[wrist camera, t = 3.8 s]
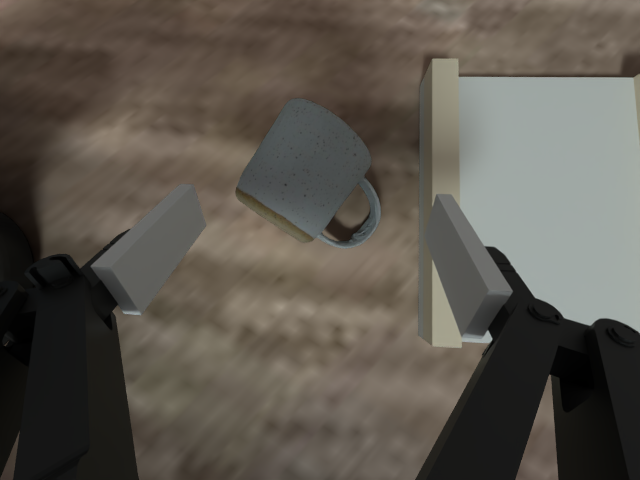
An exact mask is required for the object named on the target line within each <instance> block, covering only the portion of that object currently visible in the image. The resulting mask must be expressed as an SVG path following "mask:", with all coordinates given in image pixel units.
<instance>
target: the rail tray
mask: <svg viewBox="0 0 640 480" xmlns="http://www.w3.org/2000/svg"><path fill="white" fill-rule="evenodd" d="M436 194H452V196H453V197H454V199H455V201H456V202H457V204H458V205H459V207H460V209H461V210H462V212H463V213H464V215H465V216H466V218H467V220H468V221H469V223H470V224H471V226H472V227H473V229H474V231H475V232H476V234H477V235H478V237H479V238H480V240H481V242H482V243H483V245H484V246H491V247H496V248H497V249H498V250H499V251H501V252H502V253H503V254H505V256H506V257H507V259H508V260H509V261H510V263H511V265H512V266H513V267H514V269H515V270H516V273H518V274H519V276H520V277H521V279H522V280H523V281H524V283H525V284H526V286H527V287H528V288H529V290H530V291H531V293H532V294H533V296H534V297H535V298H537V299H540V300H542V301H545V302H547V303H549V304H550V305H552V306H554V307H555V308H556V309H557V310H558V311H559V312H560V313H561V314H562V316H563V317H564V318H565V319H569V320H572V321H575V322H579V323H582V324H586V325H589V326H591V325H592V324H593V323H594V322H595V321H596V320H598V319H600V318H608V319H613V320H617V321H619V322H621V323H624V324H626V325H628V326H630V327H631V328H633V329H635V330H636V331H638V332H639V333H640V74H638V75H637V76H635V77H634V78H611V77H458V59H432V61H431V63H430V65H429V67H428V69H427V72H426V74H425V76H424V78H423V80H422V82H421V85H420V140H419V319H418V336H420V337H421V338H422V339H424V340H425V341H426V342H428V343H429V344H430V345H432V346H438V347H454V348H462V342H478V343H490V342H491V341H492V337H491V335H490V333H489V331H487V332H486V334H485V335H484V337H483V338H482V339H473V338H462V337H461V334H460V332H459V329H458V326H457V324H456V321H455V318H454V316H453V313H452V310H451V307H450V305H449V302H448V299H447V297H446V294H445V291H444V289H443V286H442V283H441V281H440V278H439V275H438V272H437V270H436V267H435V264H434V262H433V259H432V256H431V254H430V251H429V248H428V246H427V243H426V240H425V237H424V234H425V231H426V227H427V224H428V221H429V217H430V214H431V211H432V207H433V204H434V201H435V197H436Z"/></svg>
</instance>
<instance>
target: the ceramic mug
mask: <svg viewBox="0 0 640 480" xmlns="http://www.w3.org/2000/svg"><path fill="white" fill-rule="evenodd" d="M370 166H371V156H370V153H369V151H368V149H367V147H366V145H365V144H364V142H363V141H362V140H361V138H360V137H359V136H358V135H357V134H356V133H355V132H354V131H353V130H352V129H351V128H350V127H349V126H348V125H347V124H346V123H345V122H344V121H343V120H342V119H340V118H339V117H337V116H336V115H335V114H333V113H332V112H331V111H329V110H328V109H326V108H324V107H322V106H320V105H318V104H316V103H314V102H312V101H309V100H306V99H301V98H295V99H291V100H289V101H288V102H287V103H286V104H285V106H284V107H283V109H282V111H281V112H280V114H279V116H278V117H277V119H276V121H275V122H274V124H273V125H272V127H271V129H270V130H269V132H268V133H267V135H266V137H265V138H264V140H263V141H262V143H261V145H260V146H259V148H258V149H257V151H256V153H255V154H254V156H253V157H252V159H251V160H250V162H249V163H248V165H247V166H246V168H245V170H244V171H243V173H242V175H241V177H240V180H239V182H238V185H237V187H236V197H237V199H238V200H239V201H240V202H242V203H243V204H245V205H246V206H247V207H249V208H250V209H252V210H253V211H255V212H256V213H257V214H259V215H260V216H262V217H263V218H265V219H267V220H268V221H270V222H271V223H273V224H274V225H276V226H277V227H279V228H280V229H282V230H283V231H285V232H286V233H288V234H289V235H291V236H293V237H294V238H296V239H297V240H299V241H300V242H303V243H306V242H310V241H313V240H314V239H315V238H319V239H320V240H322V241H323V242H325V243H327V244H329V245H332V246H335V247H338V248H352V247H355V246H358V245H360V244H362V243H363V242H365V241H366V240H367V239H368V238H369V237H370V236H371V235H372V234H373V232H374V231H375V230H376V228H377V226H378V224H379V221H380V217H381V208H380V202H379V198H378V196H377V194H376V192H375V190H374V188H373V187H372V185H371V184H370V182H369V181H368V180H367V179H366V178H365V176H364V175H365V173H366V172H367V170H368V169H369V167H370ZM357 184H359V185H360V186H361V187H362V189H363V190H364V192H365V194H366V196H367V198H368V200H369V203H370V215H369V218H368V219H367V221H366V222H365V223H364V224H363V226H362V227H361V228H360V229H359V230H358V231H357V232H356V233H354V234H352V236H351V239H350V240H348V241H334V240H331V239H329V238H327V237H326V236H324V235H323V234H322V231H323V230H324V229H325V227H326V226H327V225H328V223H329V222H330V220H331V219H332V218H333V216H334V215H335V213H336V212H337V210H338V209H339V207H340V206H341V205H342V203H343V202H344V201H345V200H346V198H347V197H348V196H349V195H350V193H351V192H352V191H353V189H354V188H355V186H356V185H357Z"/></svg>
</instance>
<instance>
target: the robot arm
mask: <svg viewBox="0 0 640 480" xmlns="http://www.w3.org/2000/svg"><path fill="white" fill-rule="evenodd" d="M205 227H206V223H205V219H204V216H203V213H202V210H201V207H200V204H199V200H198V197H197V194H196V191H195V188H194V184H180V185H178V186H177V187H176V188H175V189H174V190H173V191H172V192H171V193H170V194H169V195H168V196H166V197H165V198H164V199H163V200H162V201H161V202H160V203H159V204H158V205H157V206H155V207H154V208H153V209H152V210H151V211H150V212H149V213H148V214H147V215H146V216H145V217H143V218H142V219H141V220H140V221H139V222H138V223H137V224H136V225H135V226H134V227H133V228H131V229H128V230H127V231H125V232H123V233H121V234H119V235H118V236H116V237H115V238H114V239H113V240H112V241H111V242H110V244H107V245H106V246H105V247H104V248H103V250H101V251H100V252H99V253H97V254H96V255H95V256H94V257H93V258H92V259H91V260H90V261H88V262H87V263H86V264H85V265H84V266H83V267H82V268H81V269H80V268H79V267H78V266H77V264H76V263H75V262H74V260H73V259H72V258H71V256H70V255H67V254H57V255H52V256H49V257H46V258H43V259H41V260H39V261H37V262H35V263H34V264H33V258H32V254H31V250H30V247H29V245H28V242H27V240H26V238H25V236H24V234H23V233H22V231H21V230H20V229H19V227H18V226H17V225H16V224H15V223H14V222H13V221H12V220H11V219H10V218H9V217H7V216H6V215H4V214H3V213H1V212H0V477H1V475H2V472H3V470H4V468H5V465H6V463H7V460H8V458H9V455H10V453H11V450H12V448H13V445H14V443H15V441H16V438H17V436H18V433H19V431H20V434H19V441H18V449H17V456H16V463H15V470H14V478H13V480H139V477H138V472H137V465H136V458H135V451H134V444H133V436H132V429H131V422H130V415H129V408H128V401H127V394H126V387H125V380H124V373H123V366H122V358H121V351H120V344H119V337H118V330H117V323H116V317H115V315H114V313H113V312H112V311H113V310H114V308H115V307H116V306H117V305H118V306H119V307H120V308H121V310H122V311H123V313H124V314H136V315H142V313H143V312H144V311H145V309H146V308H147V307H148V305H149V304H150V302H151V301H152V300H153V298H154V297H155V296H156V294H157V293H158V291H159V290H160V289H161V287H162V286H163V285H164V283H165V282H166V280H167V279H168V278H169V276H170V275H171V273H172V272H173V271H174V269H175V268H176V267H177V265H178V264H179V262H180V261H181V260H182V258H183V257H184V256H185V254H186V253H187V251H188V250H189V249H190V247H191V246H192V245H193V243H194V242H195V240H196V239H197V238H198V236H199V235H200V234H201V232H202V231H203V229H204V228H205ZM424 237H425V240H426V243H427V246H428V248H429V251H430V254H431V256H432V259H433V262H434V264H435V267H436V270H437V272H438V275H439V278H440V281H441V283H442V286H443V289H444V291H445V294H446V297H447V299H448V302H449V305H450V307H451V310H452V313H453V316H454V318H455V321H456V324H457V326H458V329H459V332H460V334H461V337H462V338H473V339H482V338H483V337H484V335H485V334H486V332H487V331H489V333H490V335H491V337H492V341H491V342H490V344H489V345H488V347H487V348H486V349H485V351H484V352H483V354H482V355H483V356H482V358H481V360H480V362H479V364H478V366H477V367H476V369H475V371H474V373H473V375H472V377H471V378H470V380H469V382H468V384H467V386H466V388H465V389H464V391H463V393H462V395H461V397H460V399H459V400H458V402H457V404H456V406H455V408H454V410H453V411H452V413H451V415H450V417H449V419H448V421H447V422H446V424H445V426H444V428H443V430H442V432H441V433H440V435H439V437H438V439H437V441H436V443H435V444H434V446H433V448H432V450H431V452H430V454H429V455H428V457H427V459H426V461H425V463H424V465H423V466H422V468H421V470H420V472H419V474H418V476H417V477H416V479H415V480H515V478H516V475H517V472H518V469H519V466H520V463H521V460H522V457H523V454H524V450H525V447H526V444H527V441H528V438H529V435H530V432H531V429H532V426H533V423H534V419H535V416H536V413H537V410H538V407H539V404H540V401H541V398H542V395H543V392H544V389H545V385H546V382H547V379H548V376H549V374H550V375H551V381H552V395H553V409H554V423H555V437H556V450H557V464H558V478H559V480H640V333H639V332H638V331H636V330H635V329H633V328H631V327H630V326H628V325H626V324H624V323H621V322H619V321H617V320H613V319H608V318H600V319H598V320H596V321H595V322H594V323H593V324H592V325H591V326H589V325H586V324H582V323H579V322H575V321H572V320H569V319H565V318H564V317H563V316H562V314H561V313H560V312H559V311H558V310H557V309H556V308H555V307H554V306H552V305H550V304H549V303H547V302H545V301H542V300H540V299H537V298H535V297H534V296H533V294H532V293H531V291H530V290H529V288H528V287H527V286H526V284H525V283H524V281H523V280H522V279H521V277H520V276H519V274H518V273H516V270H515V269H514V267H513V266H512V265H511V263H510V261H509V260H508V259H507V257H506V256H505V254H503V253H502V252H501V251H499V250H498V249H497V248H496V247H491V246H484V245H483V243H482V242H481V240H480V238H479V237H478V235H477V234H476V232H475V231H474V229H473V227H472V226H471V224H470V223H469V221H468V220H467V218H466V216H465V215H464V213H463V212H462V210H461V209H460V207H459V205H458V204H457V202H456V201H455V199H454V197H453V196H452V194H436V197H435V201H434V204H433V207H432V211H431V214H430V217H429V221H428V224H427V227H426V231H425V234H424ZM33 284H34V285H35V286H36V287H35V288H33ZM8 340H9V342H8V344H7V345H6V346H3V345H4V344H5V343H6V342H7V341H8Z"/></svg>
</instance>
